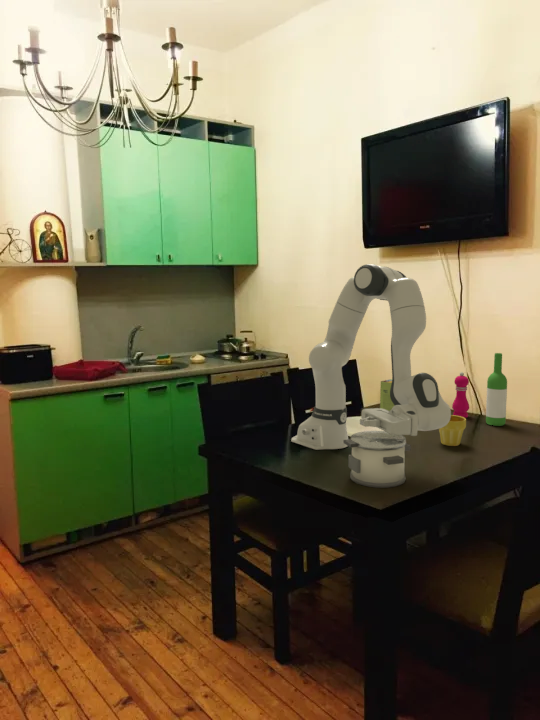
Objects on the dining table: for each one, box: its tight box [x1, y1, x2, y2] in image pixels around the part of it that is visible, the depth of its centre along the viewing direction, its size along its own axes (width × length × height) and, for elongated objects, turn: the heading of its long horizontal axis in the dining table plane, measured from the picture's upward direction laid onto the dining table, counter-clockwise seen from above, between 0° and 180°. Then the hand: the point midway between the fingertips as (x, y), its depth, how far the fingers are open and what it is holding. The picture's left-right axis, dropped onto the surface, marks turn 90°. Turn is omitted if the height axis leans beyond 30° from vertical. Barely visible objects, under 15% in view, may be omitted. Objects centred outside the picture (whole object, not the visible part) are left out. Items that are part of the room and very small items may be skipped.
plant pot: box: [438, 414, 467, 447], centre depth 214 cm, size 10×10×10 cm
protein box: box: [379, 378, 395, 411], centre depth 260 cm, size 10×15×16 cm
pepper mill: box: [451, 371, 470, 419], centre depth 255 cm, size 7×7×20 cm
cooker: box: [348, 442, 412, 489], centre depth 178 cm, size 18×21×11 cm
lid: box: [343, 430, 407, 450], centre depth 176 cm, size 19×17×2 cm
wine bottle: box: [485, 352, 508, 427], centre depth 240 cm, size 8×8×30 cm
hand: (361, 422), depth 174 cm, fingers closed
